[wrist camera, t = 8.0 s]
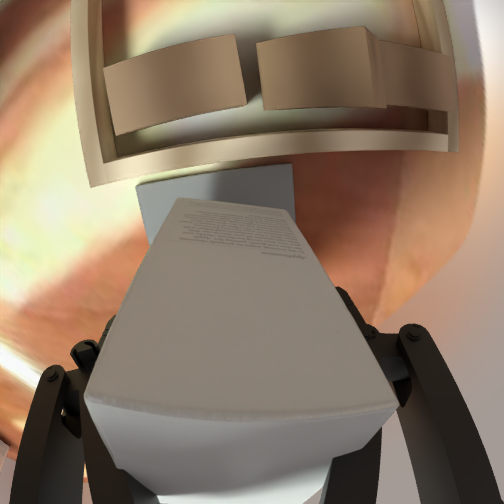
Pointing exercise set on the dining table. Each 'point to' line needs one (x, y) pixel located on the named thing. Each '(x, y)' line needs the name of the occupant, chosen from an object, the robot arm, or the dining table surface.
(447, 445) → the robot arm
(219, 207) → the small box
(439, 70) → the offcut
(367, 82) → the offcut
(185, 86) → the offcut
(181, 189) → the mat
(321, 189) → the dining table surface
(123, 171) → the tray
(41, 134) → the dining table surface
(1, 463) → the supplement box
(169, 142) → the dining table surface
